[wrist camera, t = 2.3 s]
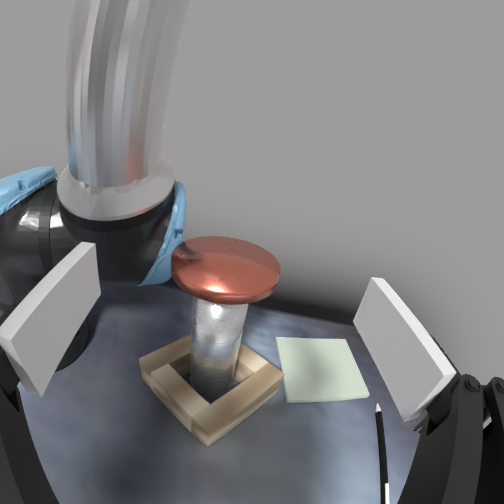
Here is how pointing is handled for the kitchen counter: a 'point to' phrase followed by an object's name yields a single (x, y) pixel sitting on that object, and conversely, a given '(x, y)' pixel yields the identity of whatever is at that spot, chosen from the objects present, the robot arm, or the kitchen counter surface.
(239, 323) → the steel peg
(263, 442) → the kitchen counter surface
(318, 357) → the sage pad
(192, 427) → the block
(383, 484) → the pen
